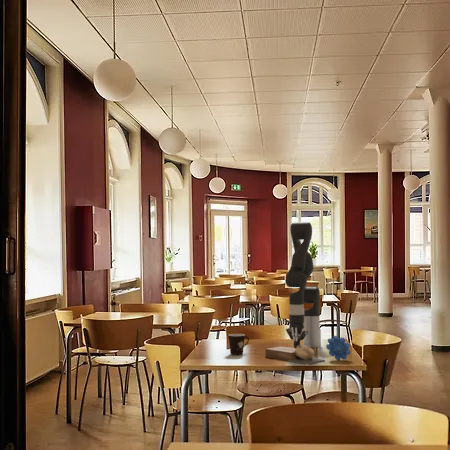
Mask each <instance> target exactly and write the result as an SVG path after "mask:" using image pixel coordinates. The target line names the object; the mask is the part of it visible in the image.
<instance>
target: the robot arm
mask: <svg viewBox="0 0 450 450" xmlns="http://www.w3.org/2000/svg"><path fill="white" fill-rule="evenodd" d="M289 228H290V229H289V230H290V237H291V242H292V247H293V249H294V253H292V256H291V263H290V268H289V270H288V272H287V274H286V276H285V279H284V280H285V285H286V286H287V287H288V288H299V289H298V290H297V291H291V292H290V293H289V295H288V296H289V302H288V303H289V305H288V322H289V326H288V328H286V329H285V331H286V333H287V335H288V336H289V339H290V340H292V341H293V348H295V349H296V348H297V345H301V341H302V342H303V343H302V345H306V346H308V347H310V348H312V349H314V348H315V349H316V348H320V347H322V338H321V337H322V331H321V328H320V325H321V324H320V322H321V321H320V300H321V291H320V288H319V287H318V286H306V285H307V282H308V279H309V278H310V276H311V275H312V274H313V271H314V267H315V266H314V259H313V257H312V255H311V253H310V252H309V248H310V244H311V240H312V236H313V227H312V223H311V222H310V221H309V222H308V221H303V222H301V221H299V222H298V221H297V222H291V224H290V227H289ZM302 240H303V241H302ZM301 241H302V242H301ZM304 304H312V306H311V307H309V308H306V309H305V307H304V306H305V305H304Z"/></svg>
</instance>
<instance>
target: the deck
mask: <svg viewBox="0 0 450 450" xmlns="http://www.w3.org/2000/svg"><path fill="white" fill-rule="evenodd" d="M295 350H296V349H295V348H294V347H289V346H283V345H280V346H276V347H275V346H274V347H270V348H269V347H268V348H265V357H266V358H271V359H276V360H283V361H289V362H290V360H295V359H300V357H298V356H297V355H296V354H295Z"/></svg>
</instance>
